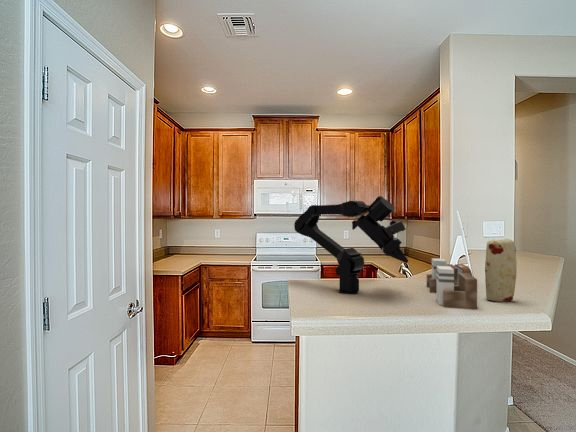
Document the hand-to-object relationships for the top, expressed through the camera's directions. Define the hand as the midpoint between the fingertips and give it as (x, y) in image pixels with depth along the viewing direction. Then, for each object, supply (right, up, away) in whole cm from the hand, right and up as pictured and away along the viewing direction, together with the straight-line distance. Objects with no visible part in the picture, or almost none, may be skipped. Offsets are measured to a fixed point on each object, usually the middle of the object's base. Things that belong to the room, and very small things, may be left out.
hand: (407, 261), depth 112 cm
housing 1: (+15, -12, +8) cm, 21 cm away
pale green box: (+14, -11, +8) cm, 20 cm away
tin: (+26, -12, +13) cm, 31 cm away
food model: (+28, -12, -6) cm, 31 cm away
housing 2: (+12, -12, -9) cm, 19 cm away
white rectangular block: (+9, -12, -8) cm, 17 cm away
